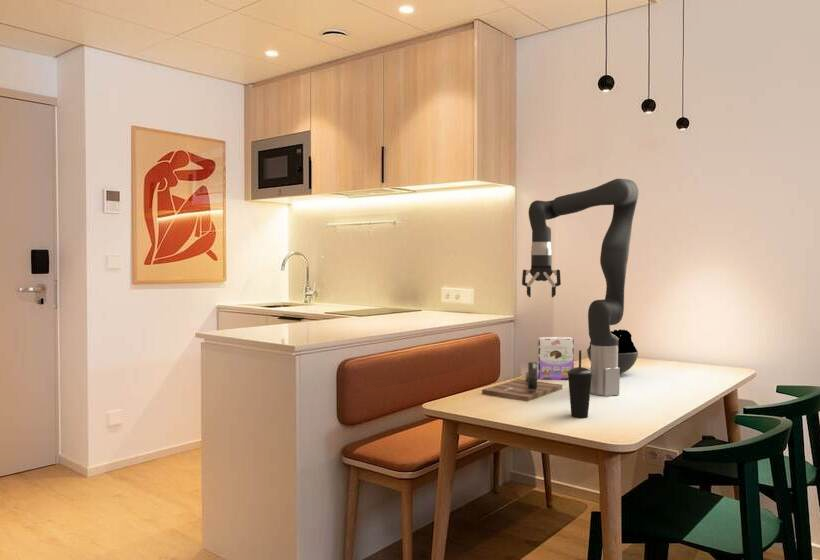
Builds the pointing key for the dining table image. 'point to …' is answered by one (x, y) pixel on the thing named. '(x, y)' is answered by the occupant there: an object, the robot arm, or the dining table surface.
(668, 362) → the dining table surface
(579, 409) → the drinking cup
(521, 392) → the board
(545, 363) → the candy box
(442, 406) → the dining table surface
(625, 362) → the bowl of black rocks
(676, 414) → the dining table surface
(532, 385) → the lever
